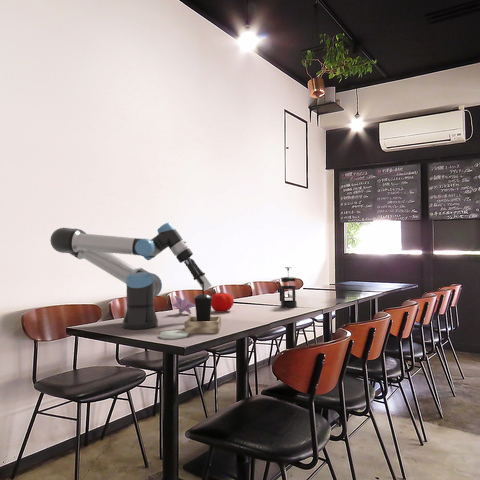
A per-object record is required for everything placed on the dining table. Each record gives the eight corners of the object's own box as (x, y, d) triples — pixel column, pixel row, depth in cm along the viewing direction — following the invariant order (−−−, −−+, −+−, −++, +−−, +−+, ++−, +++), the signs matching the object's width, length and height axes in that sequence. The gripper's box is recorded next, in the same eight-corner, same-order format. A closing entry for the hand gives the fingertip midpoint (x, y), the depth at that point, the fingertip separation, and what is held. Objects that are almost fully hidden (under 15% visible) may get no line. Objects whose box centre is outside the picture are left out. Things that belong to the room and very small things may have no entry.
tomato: (212, 310, 231) (212, 291, 231) (234, 309, 231) (234, 290, 231) (209, 313, 218) (209, 293, 218) (232, 313, 217) (232, 293, 218)
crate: (184, 333, 165) (184, 321, 165) (189, 327, 179) (189, 316, 179) (218, 332, 165) (218, 321, 165) (221, 326, 179) (220, 316, 179)
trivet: (156, 339, 154) (156, 336, 154) (162, 333, 165) (162, 330, 165) (185, 339, 154) (185, 335, 154) (190, 333, 165) (190, 330, 165)
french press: (301, 307, 238) (300, 267, 238) (290, 308, 232) (289, 267, 232) (286, 305, 247) (285, 266, 247) (275, 306, 241) (274, 267, 241)
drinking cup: (203, 327, 177) (202, 280, 178) (216, 329, 172) (216, 281, 173) (190, 330, 171) (190, 281, 172) (203, 332, 167) (203, 282, 167)
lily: (198, 317, 213) (199, 299, 218) (180, 310, 206) (182, 292, 211) (182, 322, 220) (184, 305, 225) (165, 316, 213) (167, 298, 218)
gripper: (184, 246, 184) (212, 285, 183) (192, 247, 208) (216, 282, 207) (170, 256, 183) (198, 295, 182) (180, 256, 208) (204, 290, 207)
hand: (208, 288), depth 195 cm, fingers open, 13 cm apart
